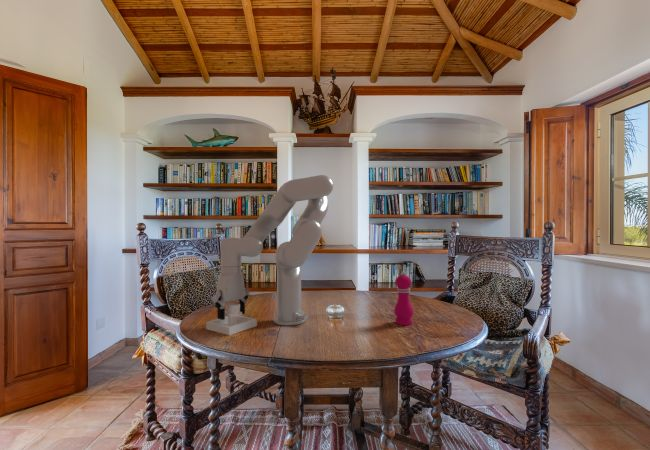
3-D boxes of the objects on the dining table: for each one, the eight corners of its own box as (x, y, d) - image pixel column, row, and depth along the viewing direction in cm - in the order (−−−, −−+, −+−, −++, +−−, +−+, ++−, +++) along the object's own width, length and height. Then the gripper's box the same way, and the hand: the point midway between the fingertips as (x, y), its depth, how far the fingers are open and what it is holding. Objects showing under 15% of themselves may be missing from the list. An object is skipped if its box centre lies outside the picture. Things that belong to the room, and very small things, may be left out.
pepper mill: (415, 321, 133) (414, 270, 133) (411, 326, 126) (411, 272, 126) (396, 319, 136) (396, 269, 136) (392, 324, 129) (391, 272, 129)
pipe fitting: (231, 328, 123) (233, 306, 124) (218, 325, 127) (220, 303, 127) (245, 325, 128) (246, 304, 129) (232, 322, 132) (233, 301, 133)
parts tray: (256, 325, 129) (256, 319, 129) (229, 335, 118) (229, 327, 118) (233, 320, 137) (233, 314, 137) (206, 329, 126) (206, 322, 126)
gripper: (242, 267, 137) (242, 310, 137) (205, 272, 123) (205, 320, 123) (255, 268, 133) (255, 312, 133) (218, 274, 118) (219, 323, 118)
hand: (231, 316), depth 128 cm, fingers open, 9 cm apart
